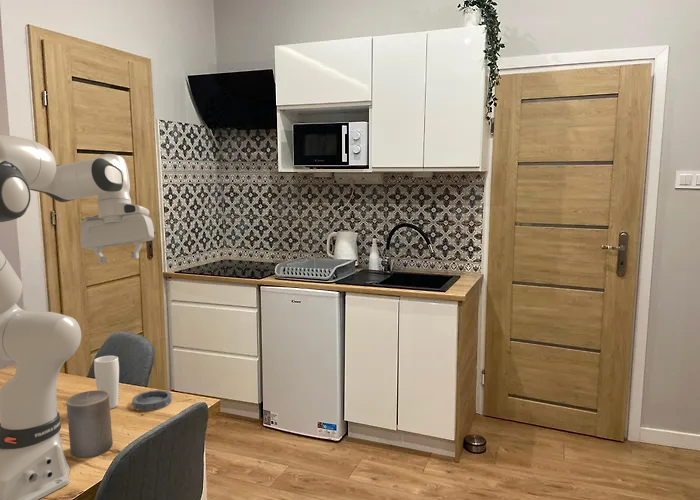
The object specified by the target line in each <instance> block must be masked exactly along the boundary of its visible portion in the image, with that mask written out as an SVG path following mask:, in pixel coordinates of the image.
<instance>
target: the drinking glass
mask: <svg viewBox="0 0 700 500" xmlns="http://www.w3.org/2000/svg"><path fill="white" fill-rule="evenodd" d="M93 367H94V369H93V370H94V371H93V372H94V379H95V385H96V391H105V392H107V393H108V395H109V405H110V410H111V409H115V408H117V407H118V405H119V391H120V390H119V385H120V362H119V356H116V355H103V356H100V357H97V358H95V359H94V360H93Z"/></svg>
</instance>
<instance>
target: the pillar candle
mask: <svg viewBox="0 0 700 500" xmlns="http://www.w3.org/2000/svg"><path fill="white" fill-rule="evenodd" d="M65 404H66V414H67V423H68V424H67V425H68V426H67V427H68V435H69V436H68V437H69V448H70V455H71V456H72V457H74V458H77V459H81V458H92V457H97V456H100V455H102V454H105V453H106V452H108V451H109V450H111V448H112V446H113V442H114V440H113V431H112V430H113V429H112V418H111V417H112V416H111V409H110V405H109V395H108V393H107V392H105V391H97V390H87V391H82V392H79V393H76V394H74V395H72V396H69V398H67V400H66V402H65Z"/></svg>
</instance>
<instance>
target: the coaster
mask: <svg viewBox="0 0 700 500" xmlns="http://www.w3.org/2000/svg"><path fill="white" fill-rule="evenodd" d="M131 403H132V406H133V408H134V409H135V410H138V411H143V412H144V411H146V412H147V411H148V412H149V411H155V410H160V409H162V408H165V407H168V406H169V405H170V404H171V403H172V393H171V392H169V391H168V390H162V389H157V390H148V391H145V392H140V393H139V394H136V395H134V396H133V397H132V401H131Z"/></svg>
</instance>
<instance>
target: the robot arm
mask: <svg viewBox="0 0 700 500" xmlns="http://www.w3.org/2000/svg"><path fill="white" fill-rule="evenodd" d="M129 173H130V172H129V169H128V165H127V162H126V159H124V158H123V157H122V156H119V155H117V154H114V153H102V154H100V155H99V156H98V157H96V158H89V159H85V160H80V161H75V162H68V163H64V164H57V162H56V158H55V155H54V154H53V152H52V151H51V150H50V149H49V148H48V147H47V146H45V145H44V144H42V143H40V142H37V141H34V140H31V139H27V138H23V137H20V136H15V135H14V136H13V135H9V134H8V135H7V134H6V135H5V134H0V223H5V222H9V221H13V220H17V219H19V218H21V217H23V216H24V215H25V214H26V212H27V210H28V209H29V206H30V203H31V191H33V192H38V193H41V194H42V193H43V194H45V195H46V196H48V197H50V198H52V199H53V200H55V201H57V202H58V203H67V202H70V201H71V202H72V201H75V200H78V199H83V198H88V197H94V196H95V197H96V196H98V197H97V202H96V203H97V214H98V215H97V214H96V215H93V216H85V217H84V218H83V219H82V220H81V221H80V234H79V236H80V237H79V239H80V240H79V241H80V242H79V244H80V247H81V248H83V250H84V249H85V250H93V252H94V254H95V256H96V257H97V259H98V260H97V261H98V264H107V263H108V260H107V259H108V257H107V256H104V254H103V249H104V248H109V247H110V248H111V247H116V246H124V245H129V244H133V246H135V247H134V249H133V251H131V252H130V255H131V256H130V258H131V259H133V260H135V259H139V258H140V251H141V250H142V247H143V243H145V242H150V241H153V240H154V238H155V228H154V223H153V220H152V219H151V217H149V216H150V210H149V209H148V208H147V207H144V206H141V205H139V204H132V199H131V197H130V196H131V195H130V190H131V182H130V181H131V180H130V174H129ZM23 288H24V286H23V282H22V280H21V279H20V277H19V276H18V274H17V272H15V270H14V268H13V267H12V265H11V263H10V261H8V258H7V257H6V256H5V255H4V253H3V252H2V250H1V249H0V361H13V362H14V361H15V365H16V367H15V374H14V377H12V378H10V379H8V381H6V382H5V383H4V384H3V385H2V386H1V387H0V500H40V499H41V498H44V497H46V496H48V495H50V494H51V493H54V492H55V491H57V490H59V489H61V488H63V487H65V486H67V485H68V484H69V483H70V478H69V473H70V471H71V469H70V465H69V464H68V462H67V459H66V456H65V453H64V449H63V445H62V440H61V435H60V430H61V427H62V426H61V416H60V412H59V411H58V404H57V403H58V400H57V399H58V398H57V385H58V384H57V383H58V377H59V374H60V372H61V371H60V370H61V369H62V367H63V365H64V364H65V362H67V361H68V360H69V359H70V358H71V357H72V356H73V355H74V354H75V353H76V352H77V351H78V348H79V347H80V345H81V342H82V330H81V326H80V324H79V323H78V321H77V320H76V318H74V317H72V316H68V315H65V314H62V313H58V312H54V311H36V310H32V311H31V310H24V309H23V308H21V307H20V306H19V305H18V304H17V303H18V301H19V300H20V299H21V297H22V294H23Z"/></svg>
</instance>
